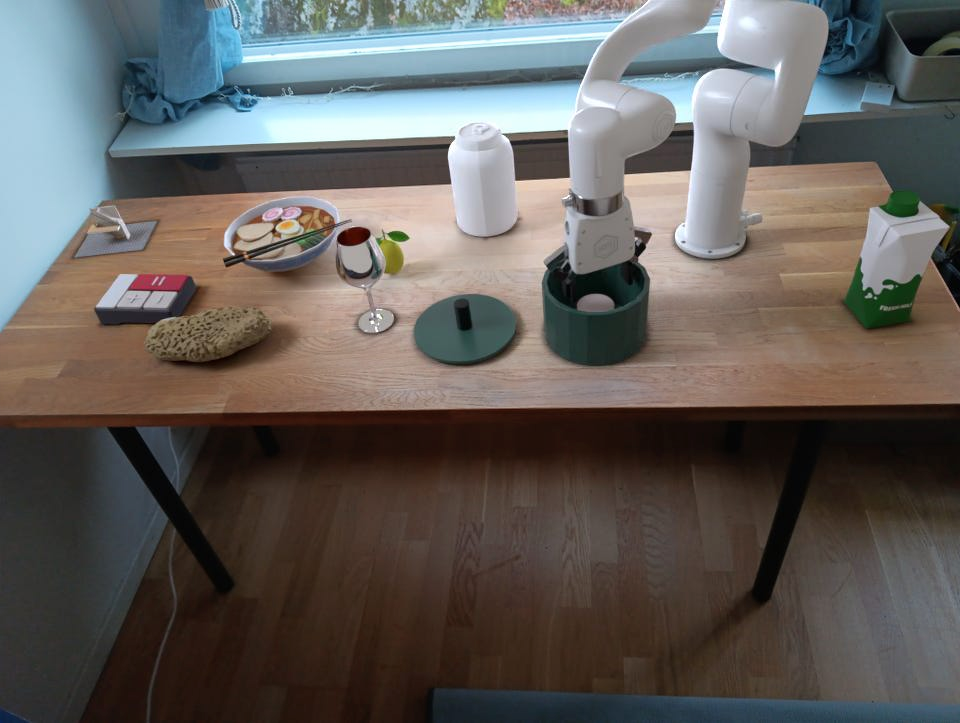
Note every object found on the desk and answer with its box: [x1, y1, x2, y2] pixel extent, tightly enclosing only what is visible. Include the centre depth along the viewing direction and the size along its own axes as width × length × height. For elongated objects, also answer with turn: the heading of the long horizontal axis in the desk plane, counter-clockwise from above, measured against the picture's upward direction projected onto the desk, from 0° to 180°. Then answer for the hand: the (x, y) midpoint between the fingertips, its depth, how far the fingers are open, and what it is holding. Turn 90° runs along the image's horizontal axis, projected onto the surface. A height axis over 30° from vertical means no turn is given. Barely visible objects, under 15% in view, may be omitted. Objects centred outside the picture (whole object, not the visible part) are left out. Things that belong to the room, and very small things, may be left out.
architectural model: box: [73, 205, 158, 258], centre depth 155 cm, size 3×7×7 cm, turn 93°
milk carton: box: [843, 189, 951, 330], centre depth 110 cm, size 9×9×20 cm
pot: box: [541, 258, 651, 367], centre depth 117 cm, size 17×17×11 cm
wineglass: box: [335, 225, 395, 334], centre depth 122 cm, size 8×8×18 cm
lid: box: [413, 293, 517, 365], centre depth 122 cm, size 18×18×6 cm
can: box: [447, 120, 519, 238], centre depth 142 cm, size 12×12×20 cm
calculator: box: [93, 273, 197, 325], centre depth 138 cm, size 11×4×15 cm
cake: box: [577, 294, 614, 312], centre depth 119 cm, size 6×6×5 cm
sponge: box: [143, 305, 272, 363], centre depth 126 cm, size 13×8×20 cm
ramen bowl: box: [222, 195, 353, 272], centre depth 143 cm, size 25×23×8 cm
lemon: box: [374, 229, 411, 275], centre depth 135 cm, size 7×6×10 cm
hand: (598, 288), depth 115 cm, fingers open, 9 cm apart
